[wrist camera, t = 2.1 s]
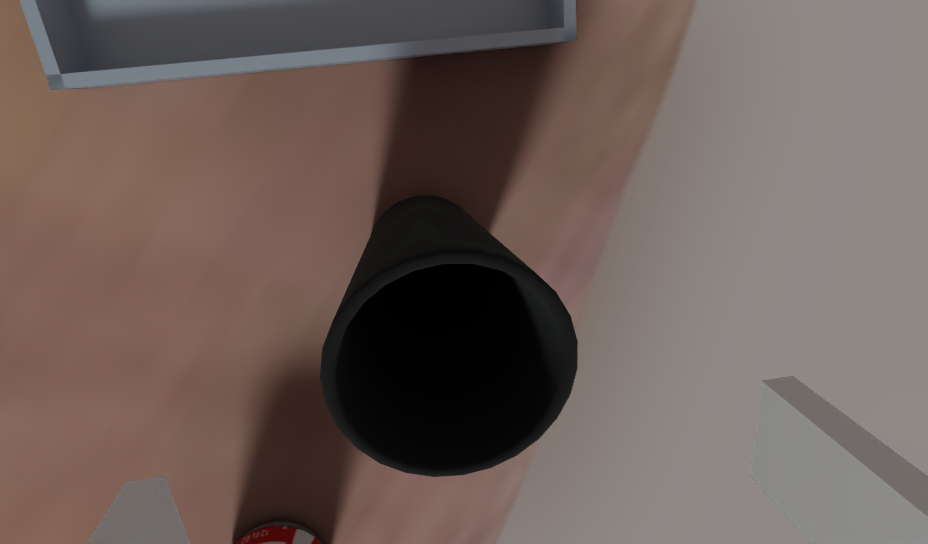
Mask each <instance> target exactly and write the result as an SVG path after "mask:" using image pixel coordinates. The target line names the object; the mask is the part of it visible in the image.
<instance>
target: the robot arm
mask: <svg viewBox="0 0 928 544" xmlns="http://www.w3.org/2000/svg"><path fill="white" fill-rule="evenodd" d="M749 477H750V478H751V479H752V480H753V481H754V482H755V483H756V484H757V486H758V487H759V488H760V489H761V490H762V491H763V492H764V493H765V495H766V496H767V497H768V498H769V499H770V500H771V501H772V502H773V503H774V505H775V506H776V507H777V508H778V509H779V510H780V511H781V512H782V513H783V515H784V516H785V517H786V518H787V519H788V520H789V521H790V522H791V523H792V525H793V526H794V527H795V528H796V529H797V530H798V531H799V532H800V533H801V535H802V536H803V537H804V538H805V539H806V540H807V541H808V542H809V544H928V476H927V475H925V474H924V473H923V472H921V471H920V470H919V469H917V468H916V467H915V466H913V465H912V464H911V463H909V462H908V461H907V460H905V459H904V458H903V457H901V456H900V455H898V454H897V453H896V452H894V451H893V450H892V449H890V448H889V447H888V446H886V445H885V444H884V443H882V442H881V441H879V440H878V439H877V438H876V437H874V436H873V435H872V434H870V433H869V432H867V431H866V430H865V429H864V428H862V427H861V426H859V425H858V424H857V423H855V422H854V421H853V420H851V419H850V418H849V417H847V416H846V415H845V414H843V413H842V412H841V411H839V410H838V409H837V408H835V407H834V406H833V405H831V404H830V403H829V402H827V401H826V400H824V399H823V398H822V397H820V396H819V395H818V394H816V393H815V392H814V391H812V390H811V389H810V388H808V387H807V386H806V385H804V384H803V383H802V382H800V381H799V380H798V379H796V378H795V377H794V376H789V377H782V378H777V379H770V380H763V381H761V389H760V396H759V404H758V412H757V420H756V427H755V435H754V443H753V450H752V459H751V466H750V473H749ZM86 544H190V542H189V540H188V537H187V534H186V532H185V529H184V526H183V524H182V521H181V518H180V515H179V513H178V510H177V507H176V505H175V502H174V499H173V496H172V494H171V491H170V488H169V486H168V483H167V480H166V477H165V476H160V477H154V478H148V479H142V480H135V481H129V482H126V483H125V484H124V486H123V487H122V489H121V490H120V492H119V494H118V495H117V497H116V498H115V500H114V501H113V503H112V504H111V506H110V507H109V509H108V510H107V512H106V514H105V515H104V517H103V518H102V520H101V521H100V523H99V524H98V526H97V527H96V529H95V531H94V532H93V534H92V535H91V537H90V538H89V540H88V541H87V543H86Z"/></svg>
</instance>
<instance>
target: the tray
mask: <svg viewBox="0 0 928 544" xmlns="http://www.w3.org/2000/svg"><path fill="white" fill-rule="evenodd" d="M19 1H20V3H21V6H22V9H23V12H24V15H25V18H26V20H27V23H28V26H29V29H30V32H31V35H32V37H33V40H34V43H35V46H36V49H37V52H38V54H39V57H40V60H41V63H42V66H43V69H44V71H45V74H46V77H47V80H48V83H49V86H50V88H51V90H59V89H83V88H99V87H109V86H120V85H130V84H141V83H151V82H162V81H172V80H183V79H193V78H204V77H214V76H224V75H235V74H245V73H256V72H266V71H277V70H287V69H298V68H308V67H319V66H329V65H340V64H350V63H361V62H371V61H382V60H392V59H403V58H413V57H423V56H434V55H444V54H455V53H465V52H476V51H486V50H497V49H507V48H518V47H528V46H539V45H549V44H557V43H562V42H568V41H573V40H576V0H19Z"/></svg>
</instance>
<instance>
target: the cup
mask: <svg viewBox="0 0 928 544" xmlns="http://www.w3.org/2000/svg"><path fill="white" fill-rule="evenodd" d="M576 371H577V338H576V334H575V331H574V327H573V324H572V320H571V316H570V314H569V313H568V311H567V309H566V308H565V306H564V304H563V303H562V301H561V299H560V298H559V296H558V295H557V293H556V292H555V291H554V290H553V289H552V288H551V287H550V286H549V285H548V284H547V283H546V282H545V281H544V280H543V279H542V278H540V277H539V276H538V275H537V274H536V273H535V272H534V271H533V270H532V269H531V268H529V267H528V266H527V265H526V264H525V263H524V262H522V261H521V260H520V259H519V258H518V257H517V256H516V255H514V254H513V253H512V252H511V251H510V250H509V249H507V248H506V247H505V246H504V245H503V244H502V243H501V242H499V241H498V240H497V239H496V238H495V237H494V236H492V235H491V234H490V233H489V232H488V231H487V230H485V229H484V228H483V227H482V226H481V225H480V224H479V223H477V222H476V221H475V220H474V219H473V218H472V217H470V216H469V215H468V214H467V213H466V212H465V211H464V210H462V209H461V208H460V207H459V206H458V205H456V204H454V203H452V202H450V201H448V200H447V199H443V198H439V197H435V196H416V197H412V198H408V199H405V200H403V201H401V202H399V203H397V204H395V205H393V206H392V207H391V208H390V209H388V210H387V211H386V212H385V213H384V214H383V215H382V217H381V218H380V219H379V221H378V222H377V224H376V225H375V227H374V230H373V232H372V234H371V236H370V239H369V241H368V243H367V245H366V248H365V250H364V252H363V254H362V257H361V259H360V261H359V263H358V266H357V268H356V270H355V272H354V275H353V277H352V279H351V281H350V284H349V286H348V288H347V290H346V293H345V295H344V297H343V299H342V302H341V304H340V306H339V308H338V310H337V313H336V315H335V317H334V319H333V322H332V325H331V327H330V330H329V332H328V335H327V338H326V340H325V343H324V346H323V349H322V360H321V372H320V379H321V384H322V389H323V394H324V399H325V404H326V406H327V408H328V410H329V412H330V413H331V415H332V417H333V419H334V421H335V423H336V425H337V427H338V429H339V430H340V431H341V432H342V433H343V434H344V435H345V436H346V437H347V438H348V439H349V440H350V442H351V443H352V444H353V445H354V446H355V447H356V448H357V449H359V450H360V451H362V452H363V453H365V454H366V455H368V456H369V457H371V458H372V459H374V460H376V461H377V462H379V463H380V464H383V465H386V466H389V467H391V468H394V469H397V470H400V471H402V472H405V473H411V474H418V475H425V476H432V477H438V476H455V475H465V474H469V473H473V472H476V471H480V470H484V469H488V468H491V467H493V466H496V465H498V464H500V463H502V462H504V461H506V460H508V459H510V458H512V457H514V456H517V455H518V454H519V453H521V452H522V451H523V450H525V449H526V448H527V447H529V446H530V445H531V444H533V443H534V442H535V441H537V440H538V439H539V438H540V437H541V436H542V435H543V434H544V432H545V431H546V430H547V429H548V428H549V427H550V425H552V423H553V422H554V421H555V420H556V419H557V417H558V416H559V414H560V412H561V410H562V409H563V407H564V405H565V403H566V401H567V399H568V398H569V396H570V394H571V390H572V386H573V383H574V379H575V375H576Z"/></svg>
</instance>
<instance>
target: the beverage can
mask: <svg viewBox="0 0 928 544" xmlns="http://www.w3.org/2000/svg"><path fill="white" fill-rule="evenodd" d="M235 544H322V543H321V542H320V540H319V539H318V538H317V536H316V535H315V534H314V533H313V532H312V531H311V530H309V529H308V528H306V527H304V526H303V525H299V524H296V523H293V522H281V521H276V522H271V523H266V524H263V525H260V526H258V527H256V528H254V529H252V530H251V531H249V532H248V533H246V534H245V535H244V536H243V537H241V538H240V539H239V540H238V541H237V542H236V543H235Z"/></svg>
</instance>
